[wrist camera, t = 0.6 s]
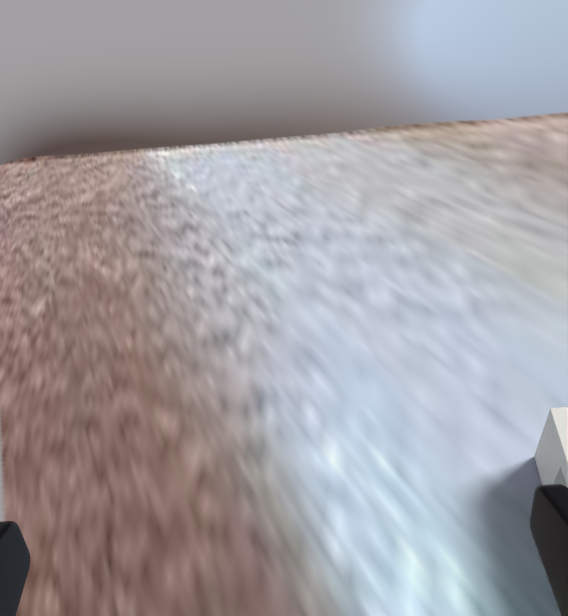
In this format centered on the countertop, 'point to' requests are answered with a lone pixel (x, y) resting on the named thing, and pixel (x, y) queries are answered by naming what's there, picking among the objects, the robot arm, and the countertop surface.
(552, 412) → the shelf
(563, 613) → the robot arm
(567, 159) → the countertop surface
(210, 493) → the countertop surface
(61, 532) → the countertop surface
